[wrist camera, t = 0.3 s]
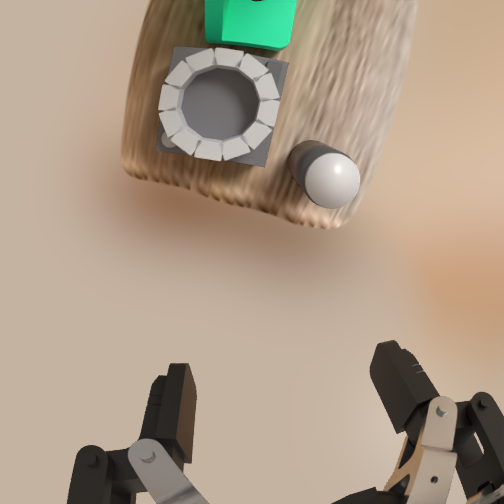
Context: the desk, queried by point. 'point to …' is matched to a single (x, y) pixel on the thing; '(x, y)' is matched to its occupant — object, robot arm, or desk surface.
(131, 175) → the desk surface
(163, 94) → the segmented ring socket plate
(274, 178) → the desk surface
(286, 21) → the camera mount
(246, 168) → the desk surface
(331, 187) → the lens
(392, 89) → the desk surface
